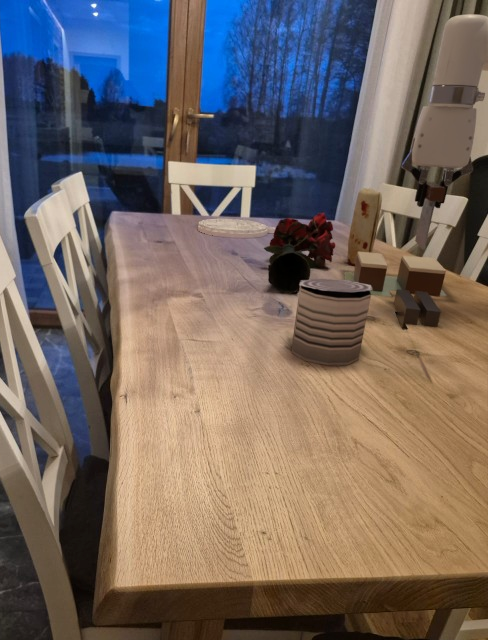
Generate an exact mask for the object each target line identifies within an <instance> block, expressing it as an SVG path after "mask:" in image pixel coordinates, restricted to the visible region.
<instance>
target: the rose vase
mask: <svg viewBox="0 0 488 640" xmlns="http://www.w3.org/2000/svg"><path fill="white" fill-rule="evenodd" d="M327 218H328V217H326V214H325V212H322V213H321V212H318V213H317V215H314V216H313V217H312V219H310V221H309V222H308V224H306V223H302V222H300V221H299V219H296V218H289V217H286V218H281V219H279V221H278V223H277V225H276V227H275V228H276V229H275V231H274V233H273V235H272V238H271V239H270V241H269V245H268V246H265V247H263V249H264V250H265V252H267V253H271V254H272V255H270V257H269V258H268V260H269V264H268V266H267V268H268V269H267V270H268V271H267V272H268V273H267V275H268V278H267V281H268V283H269V284H270V285H272V286H273V288H274V289H275V290H277V291H278V292H280V293H284V294H293V293H296V292H299V290H300V281H301V280H310V278H311V268H313V269H322V268H323V267H325V266H326V261H328V262H329V263H333V257H332V256H334V249H335V248H336V243H335V242H334V241H332V240H333V239H334V237H333V234H332V232H333V231H334V226H333V222H332V221H330V220H328V221H327ZM331 241H332V242H331ZM307 251H308V254H305V253H303V252H307Z"/></svg>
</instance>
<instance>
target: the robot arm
mask: <svg viewBox="0 0 488 640" xmlns="http://www.w3.org/2000/svg"><path fill="white" fill-rule="evenodd" d="M484 71H485V72H486V71H487V72H488V16H487V15H483V14H475V13H474V14H473V13H472V14H459V15H455V16H452V17H450V18H449V19H448V20H447V21H446V22H445V25H444V28H443V32H442V37H441V42H440V46H439V51H438V56H437V61H436V66H435V70H434V76H433V79H432V80H433V81H432V86H431V91H430V95H429V100H428V105H424V106H422V108H421V111H420V114H419V117H418V120H417V123H416V126H415V130H414V134H413V137H412V141H411V145H410V151H409V153H408V154H407V156H406V157H405V159H404V160H403V161H402V163H401V165H400V167H401V169H403V170H405V171H406V172H408V173H410V174H411V175H412V176H413V178H414V179H415V180H416V182H417V188H416V192H415V196H414V202H415V203H416V207H418V208H422V207H423V205H424V201H425V195H426V190H427V185H426V183H427V182H428V181H427V178H428V174H429V170H430V167H432V168H443V172H442V178H441V181H440V182H439V183H438V184H439V185H441V186H443V187H445V188H446V189H445V194H444V198H443V202H438V201H435V206H434V208H436V209H441V206H442V204H445V202H446V197H447V193H448V188H449V187H450V186H451V185H452V183H454V182H455V181H457V180H458V179H459V178H460V177H464V176H466V175H469V174H471V173H473V171H474V166H473V161H472V157H471V155H472V151H473V145H474V138H475V131H476V124H477V108H475V107H474V105H476V103H477V102H483V101H484V99H485V97H486V92H481V91H480V90H479V84H480V80H481V75H482V72H484ZM414 165H415V166H414ZM416 166H419V168H417V167H416ZM454 169H456V170H454Z"/></svg>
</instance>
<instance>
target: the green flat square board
mask: <svg viewBox="0 0 488 640" xmlns="http://www.w3.org/2000/svg"><path fill="white" fill-rule="evenodd" d="M343 274H344V278H345V280H347V281H353V282H355V280H354V276H353V275H354V272H349V271H344V273H343ZM397 289H399V290H402V289H401V287H400V285H399V283H398V281H397V276H391V275H386V276H385V281H384V286H383V291H382V292H381V291H370V293H371V296H379V297H389V298H393V297H394V296H393V294H392V292H396V291H397ZM440 296H442V297H447V296H448V295H447V293H446V292H444V290H443V288H442V289H441V293H440Z"/></svg>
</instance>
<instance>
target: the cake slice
mask: <svg viewBox="0 0 488 640" xmlns="http://www.w3.org/2000/svg"><path fill="white" fill-rule="evenodd" d="M388 267H389V266H388V263H387V261H386V259H385V258H384V255H383V254H382V253H381V252H380V253H379V252H372V253H369V252H358V253H357V259H356V264H355V266H354V270H353V273H354V275H353V276H354V280H355V282H358V283H363V284H368V285H371V287H372V289H373V290H370V291H381V292H382V291H383V286H384V281H385V276H387V270H388Z"/></svg>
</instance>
